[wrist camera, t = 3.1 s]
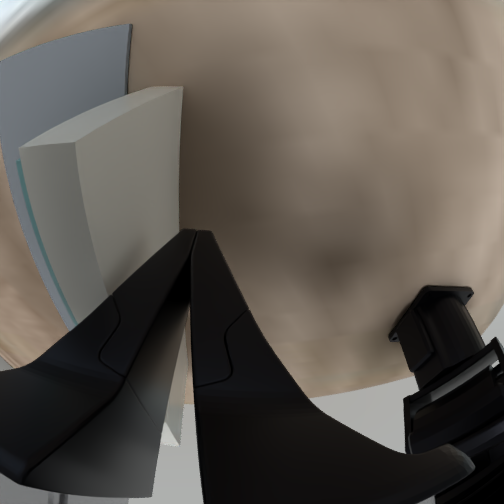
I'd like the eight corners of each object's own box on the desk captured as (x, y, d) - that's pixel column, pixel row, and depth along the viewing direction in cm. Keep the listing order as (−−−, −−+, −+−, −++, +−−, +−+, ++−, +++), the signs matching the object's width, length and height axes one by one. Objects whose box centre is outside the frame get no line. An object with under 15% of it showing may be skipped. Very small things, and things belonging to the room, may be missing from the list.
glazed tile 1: (183, 86, 10) (74, 142, 3) (179, 240, 15) (142, 380, 8) (138, 86, 9) (0, 150, 3) (144, 237, 14) (92, 369, 8)
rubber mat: (132, 24, 7) (129, 23, 7) (164, 370, 24) (163, 373, 24) (-1, 62, 7) (-4, 63, 6) (87, 355, 23) (86, 358, 23)
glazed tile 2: (183, 311, 18) (166, 423, 12) (188, 364, 23) (180, 446, 17) (155, 307, 18) (130, 416, 12) (167, 361, 23) (155, 443, 17)
